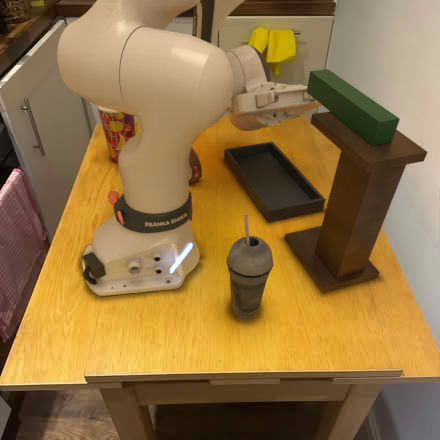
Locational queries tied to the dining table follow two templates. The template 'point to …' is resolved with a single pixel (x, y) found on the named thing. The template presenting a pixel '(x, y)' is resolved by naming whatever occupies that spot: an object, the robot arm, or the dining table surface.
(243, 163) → the tray
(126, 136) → the smoothie
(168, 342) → the dining table surface
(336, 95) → the long green square beam
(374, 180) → the stand
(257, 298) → the beverage cup
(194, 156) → the tin
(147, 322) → the dining table surface
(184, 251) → the robot arm
